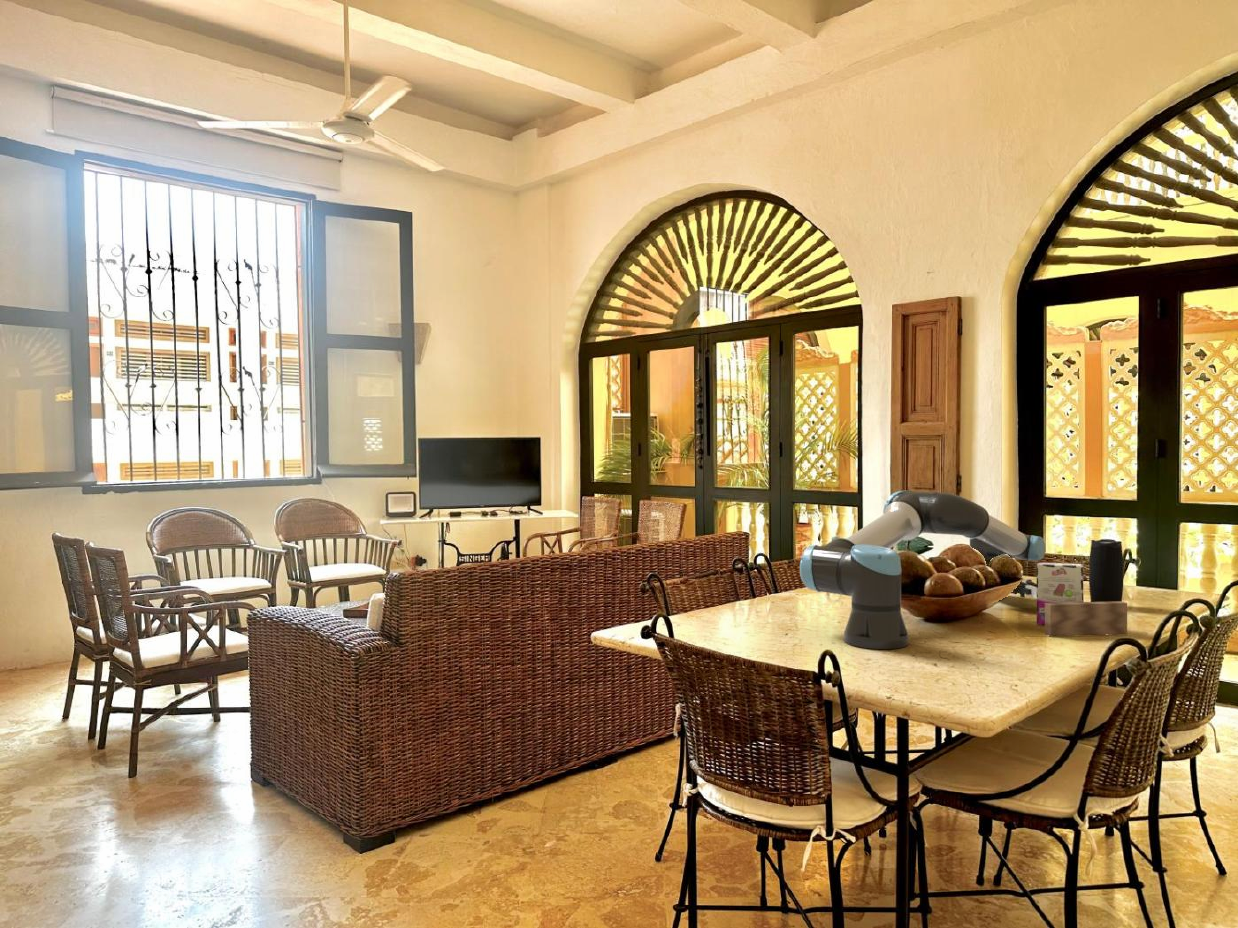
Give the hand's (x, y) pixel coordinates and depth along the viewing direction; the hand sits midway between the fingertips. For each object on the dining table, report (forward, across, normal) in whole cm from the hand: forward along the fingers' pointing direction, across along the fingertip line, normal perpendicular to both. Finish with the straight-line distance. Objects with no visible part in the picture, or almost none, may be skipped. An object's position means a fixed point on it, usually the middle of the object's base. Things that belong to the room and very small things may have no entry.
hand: (1040, 594), depth 239 cm
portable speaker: (-13, -27, -7) cm, 31 cm away
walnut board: (+21, 0, -7) cm, 22 cm away
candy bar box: (+9, 0, -7) cm, 12 cm away
